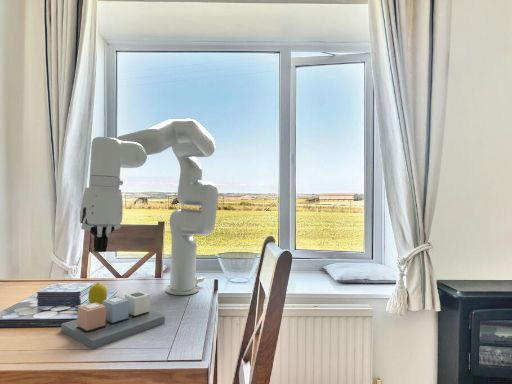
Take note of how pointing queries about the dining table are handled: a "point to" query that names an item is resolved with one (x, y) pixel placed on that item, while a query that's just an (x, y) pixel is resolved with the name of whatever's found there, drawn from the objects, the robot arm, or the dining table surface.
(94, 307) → the key terracotta
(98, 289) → the lemon
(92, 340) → the keypad board
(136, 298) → the key cream
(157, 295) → the dining table surface
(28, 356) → the dining table surface
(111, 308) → the key slate
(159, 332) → the dining table surface
